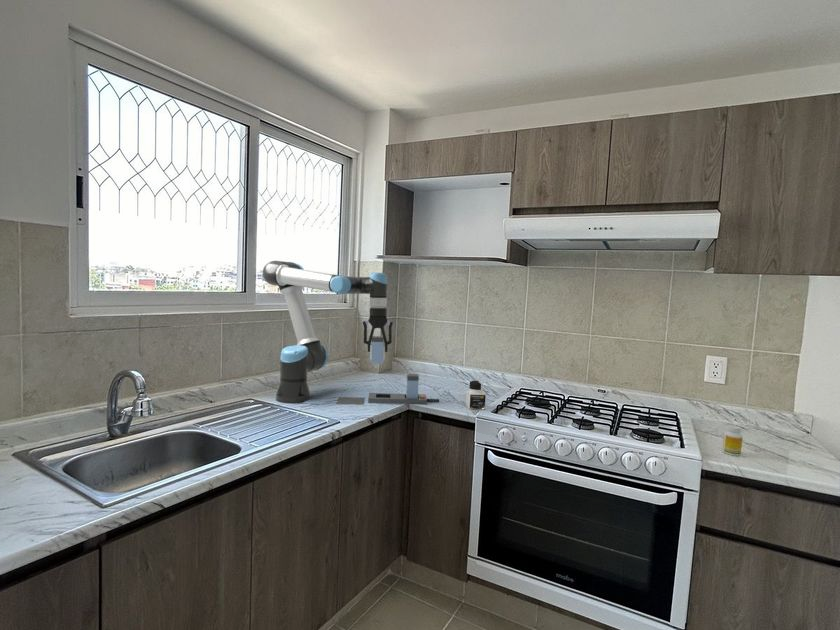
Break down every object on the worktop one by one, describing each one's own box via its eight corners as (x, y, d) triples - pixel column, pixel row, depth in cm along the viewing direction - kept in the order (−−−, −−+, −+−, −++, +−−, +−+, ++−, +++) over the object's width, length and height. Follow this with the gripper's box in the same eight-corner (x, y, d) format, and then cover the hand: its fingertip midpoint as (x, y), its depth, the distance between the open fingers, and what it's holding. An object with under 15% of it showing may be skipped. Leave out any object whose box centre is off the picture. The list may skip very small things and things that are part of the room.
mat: (335, 404, 195) (335, 403, 195) (338, 397, 207) (338, 396, 207) (363, 405, 196) (363, 404, 196) (364, 398, 208) (364, 397, 208)
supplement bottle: (719, 449, 161) (721, 423, 160) (735, 451, 160) (738, 425, 159) (727, 455, 156) (729, 428, 155) (744, 457, 155) (746, 429, 154)
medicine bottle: (469, 409, 198) (471, 383, 197) (465, 405, 205) (466, 379, 204) (485, 409, 199) (486, 383, 198) (480, 405, 206) (481, 379, 205)
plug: (371, 364, 198) (371, 337, 197) (372, 362, 203) (372, 336, 202) (382, 364, 198) (383, 337, 197) (383, 362, 203) (383, 336, 202)
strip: (368, 405, 197) (368, 397, 197) (369, 399, 207) (369, 391, 207) (440, 407, 200) (440, 399, 199) (437, 401, 209) (438, 393, 209)
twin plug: (406, 402, 201) (407, 376, 200) (405, 399, 206) (407, 373, 205) (417, 402, 201) (418, 376, 200) (416, 399, 206) (418, 374, 205)
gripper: (356, 307, 195) (356, 360, 196) (398, 308, 196) (397, 360, 197) (358, 306, 202) (358, 357, 204) (398, 307, 203) (397, 358, 205)
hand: (377, 359), depth 201 cm, fingers closed on plug, 5 cm apart
